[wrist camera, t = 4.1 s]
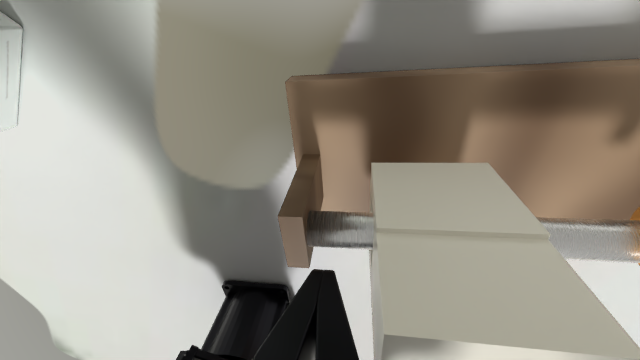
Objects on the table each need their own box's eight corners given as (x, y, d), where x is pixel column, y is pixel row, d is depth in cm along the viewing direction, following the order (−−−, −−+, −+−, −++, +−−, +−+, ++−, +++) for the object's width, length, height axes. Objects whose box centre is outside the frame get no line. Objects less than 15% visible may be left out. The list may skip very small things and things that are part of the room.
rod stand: (309, 226, 20) (285, 330, 13) (291, 76, 14) (232, 128, 7) (644, 239, 17) (828, 384, 10) (801, 50, 11) (1486, 103, 4)
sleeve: (368, 232, 14) (375, 405, 8) (371, 162, 12) (384, 329, 6) (464, 236, 14) (557, 430, 7) (487, 162, 11) (656, 354, 5)
